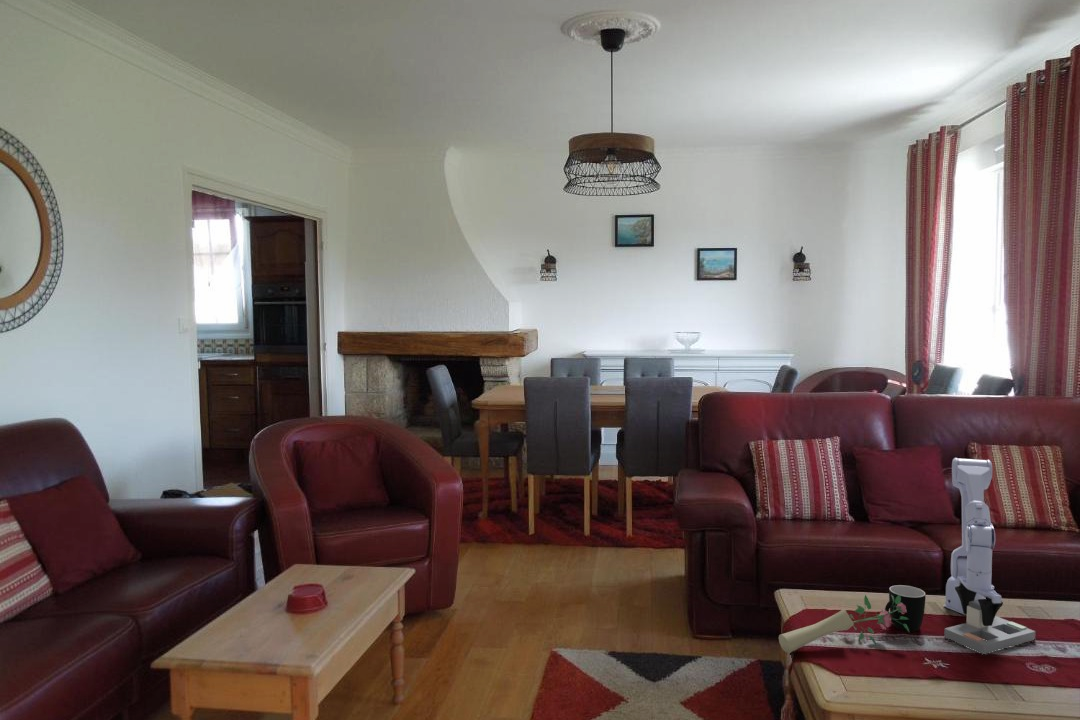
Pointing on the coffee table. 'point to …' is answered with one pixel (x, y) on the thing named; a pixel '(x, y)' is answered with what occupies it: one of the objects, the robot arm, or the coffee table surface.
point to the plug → (974, 614)
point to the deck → (990, 635)
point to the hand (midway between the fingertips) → (977, 619)
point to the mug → (907, 607)
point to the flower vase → (837, 626)
